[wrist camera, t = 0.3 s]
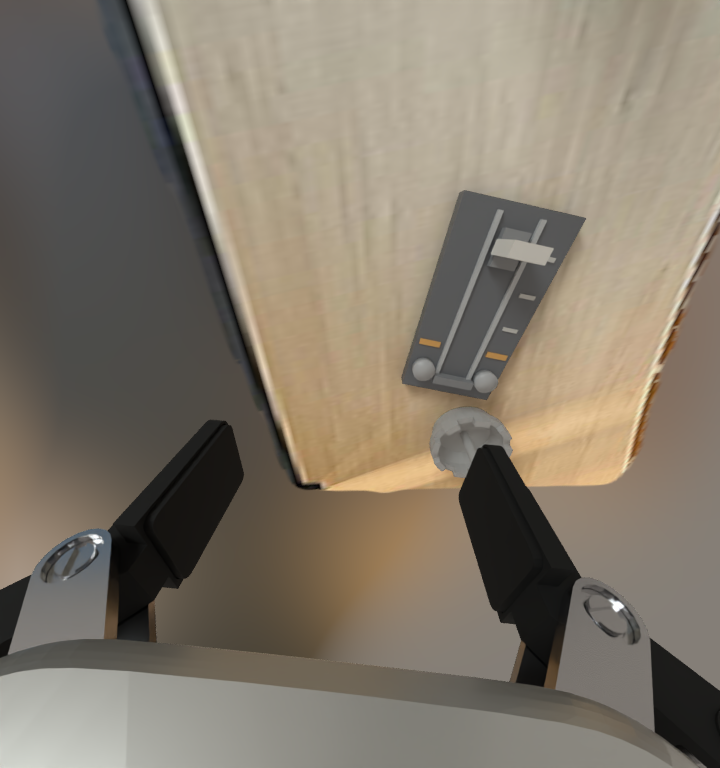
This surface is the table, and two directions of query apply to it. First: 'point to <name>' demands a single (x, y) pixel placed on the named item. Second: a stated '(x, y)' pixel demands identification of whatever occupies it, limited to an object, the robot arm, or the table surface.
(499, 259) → the fader tab
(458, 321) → the console
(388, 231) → the table surface
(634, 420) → the table surface
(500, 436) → the flag stand
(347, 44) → the table surface
